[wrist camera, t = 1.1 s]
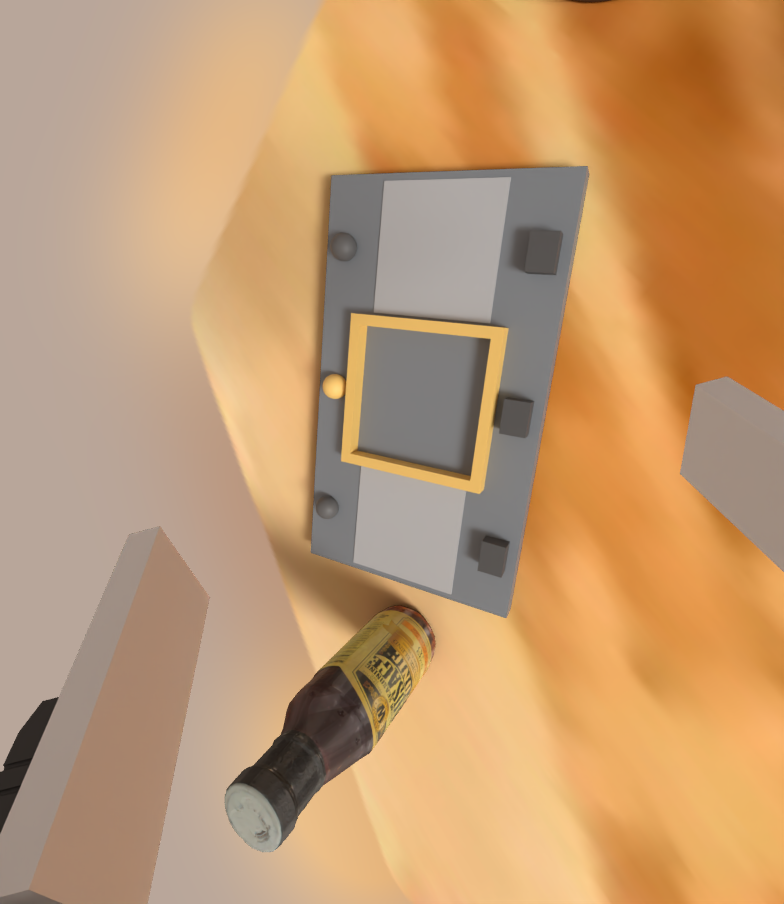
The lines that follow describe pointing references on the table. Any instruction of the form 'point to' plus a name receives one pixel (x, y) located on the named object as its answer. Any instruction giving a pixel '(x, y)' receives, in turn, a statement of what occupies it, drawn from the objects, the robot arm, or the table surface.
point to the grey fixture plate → (440, 371)
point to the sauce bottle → (331, 724)
